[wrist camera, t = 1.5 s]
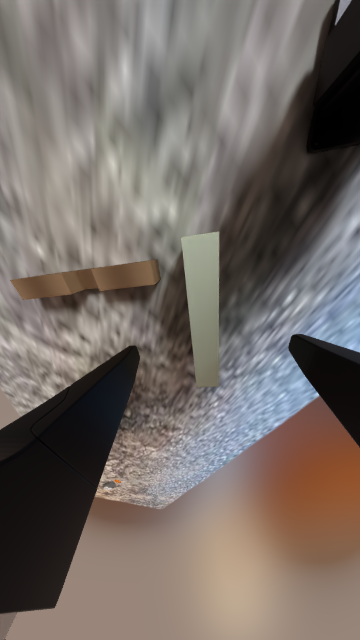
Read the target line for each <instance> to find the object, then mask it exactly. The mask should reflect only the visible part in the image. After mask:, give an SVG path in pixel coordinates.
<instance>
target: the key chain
mask: <svg viewBox="0 0 360 640" xmlns="http://www.w3.org/2000/svg"><path fill="white" fill-rule="evenodd" d="M121 481H124V480H115V481H114V482H113V481H112V482H111V481H110V482H107V483H105V484H103V488H104V489H107V490H111V489H112V488H114V487H116V485H118V483H121Z"/></svg>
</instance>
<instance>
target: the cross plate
mask: <svg viewBox="0 0 360 640" xmlns="http://www.w3.org/2000/svg"><path fill="white" fill-rule="evenodd" d="M181 240H182V250H183V260H184V269H185V279H186V289H187V298H188V308H189V318H190V327H191V337H192V347H193V356H194V366H195V376H196V385H197V387H214V386H219V232H212V233H206V234H199V235H193V236H186V237H181Z"/></svg>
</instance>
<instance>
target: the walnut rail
mask: <svg viewBox="0 0 360 640" xmlns="http://www.w3.org/2000/svg"><path fill="white" fill-rule="evenodd" d="M160 279H161V277H160V272H159V266H158V261H157V260H150V261H143V262H135V263H128V264H121V265H114V266H106V267H99V268H92V269H85V270H77V271H70V272H63V273H55V274H48V275H41V276H34V277H28V278H21V279H14V280H10V281H11V282H12V284H13V285H14V287H15V288H16V290H17V291H18V293H19V294H20V296H21V297H22V299H23V300H27V299H35V298H44V297H52V296H61V295H69V294H74V293H76V292H79V291H82V290H85V289H92V288H99V290H100V291H103V290H112V289H120V288H129V287H137V286H145V285H154V284H156V283H157V282H158V281H159V280H160Z"/></svg>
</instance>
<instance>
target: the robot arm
mask: <svg viewBox="0 0 360 640" xmlns="http://www.w3.org/2000/svg"><path fill="white" fill-rule="evenodd" d="M313 105H314V111H313V116H312V121H311V126H310V131H309V136H308V142H307V152H308V153H311V154H312V153H318V152H323V151H328V150H333V149H338V148H343V147H348V146H353V145H358V144H360V0H336V1H335V5H334V10H333V15H332V20H331V25H330V30H329V36H328V38H327V39H326V42H325V47H324V52H323V57H322V62H321V67H320V73H319V78H318V83H317V88H316V93H315V98H314V103H313ZM315 139H317V140H318V144H317V145H316V144H315ZM289 351H290V353H291V354H292V356H293V358H294V359H295V361H296V362H297V364H298V366H299V367H300V369H301V370H302V372H303V374H304V375H305V377H306V378H307V379H308V381H309V382H310V383H311V385H312V386H313V387H314V388H315V390H316V391H317V392H318V394H319V395H320V396H321V398H322V399H323V400H324V402H325V403H326V404H327V405H328V407H329V408H330V409H331V411H332V412H333V413H334V415H335V416H336V417H337V418H338V420H339V421H340V422H341V424H342V425H343V426H344V428H345V429H346V430H347V431H348V433H349V434H350V435H351V437H352V438H353V439H354V441H355V442H356V443H357V444H358V446H359V447H360V353H359V352H356V351H353V350H350V349H347V348H344V347H341V346H337V345H334V344H331V343H328V342H325V341H322V340H319V339H316V338H313V337H310V336H306V335H303V334H294V335H292V336H291V340H290V343H289ZM139 360H140V355H139V352H138V349H137V347H136V346H135V345H134V346H128V347H127V348H125V349H124V350H122V351H121V352H119V353H118V354H116V355H115V356H113V357H112V358H110V359H109V360H107V361H106V362H104V363H103V364H101V365H100V366H98V367H97V368H96V369H94V370H93V371H91V372H90V373H88V374H87V375H85V376H84V377H82V378H81V379H79V380H78V381H76V382H75V383H73V384H72V385H71V386H69V387H67V388H66V389H64V390H63V391H61V392H60V393H58V394H57V395H55V396H54V397H52V398H51V399H49V400H48V401H46V402H44V403H43V404H41V405H40V406H38V407H36V408H35V409H33V410H32V411H30V412H28V413H27V414H25V415H23V416H22V417H20V418H19V419H17V420H15V421H14V422H12V423H10V424H9V425H7V426H6V427H4V428H2V429H1V430H0V640H5V637H6V635H7V633H8V631H9V629H10V627H11V624H12V623H13V620H14V618H15V616H16V614H17V612H23V611H34V610H43V609H52V608H55V606H56V604H57V601H58V599H59V596H60V593H61V591H62V588H63V585H64V582H65V579H66V576H67V573H68V571H69V568H70V565H71V562H72V559H73V556H74V553H75V550H76V548H77V545H78V542H79V539H80V536H81V534H82V531H83V528H84V525H85V522H86V519H87V516H88V513H89V511H90V508H91V505H92V502H93V499H94V496H95V494H96V491H97V487H98V485H99V482H100V479H101V476H102V473H103V470H104V467H105V465H106V462H107V459H108V456H109V453H110V450H111V447H112V445H113V442H114V439H115V436H116V433H117V430H118V428H119V425H120V422H121V419H122V416H123V413H124V410H125V408H126V405H127V402H128V399H129V396H130V393H131V390H132V388H133V385H134V381H135V377H136V373H137V369H138V365H139Z"/></svg>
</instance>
